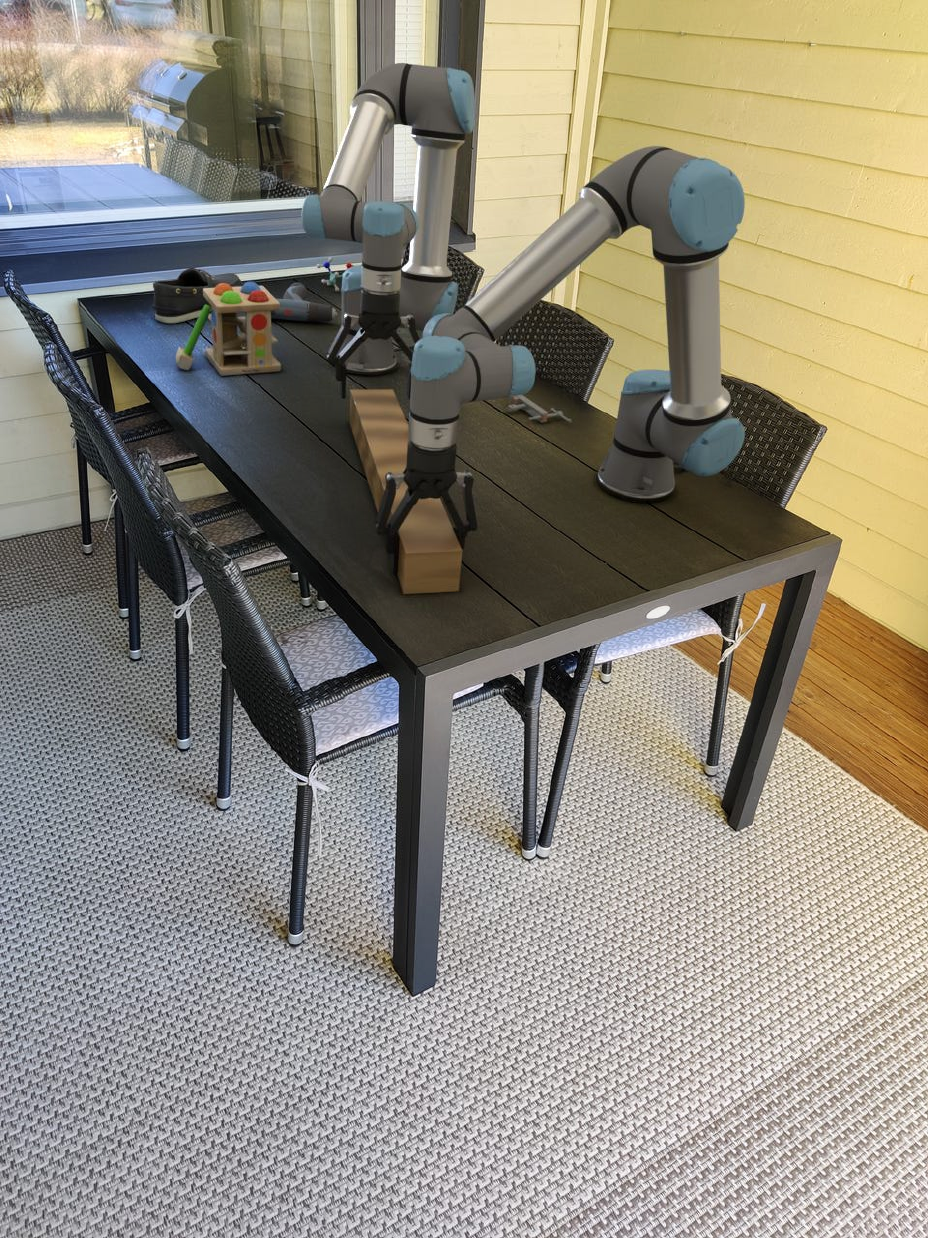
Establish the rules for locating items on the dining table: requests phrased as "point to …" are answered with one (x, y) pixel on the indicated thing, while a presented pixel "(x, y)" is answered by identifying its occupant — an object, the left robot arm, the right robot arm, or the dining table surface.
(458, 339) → the right robot arm
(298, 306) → the power drill
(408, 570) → the wide beam
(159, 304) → the boat shoe
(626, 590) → the dining table surface
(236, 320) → the pounding bench toy
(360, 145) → the left robot arm
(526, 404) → the clamp
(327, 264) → the molecular model
